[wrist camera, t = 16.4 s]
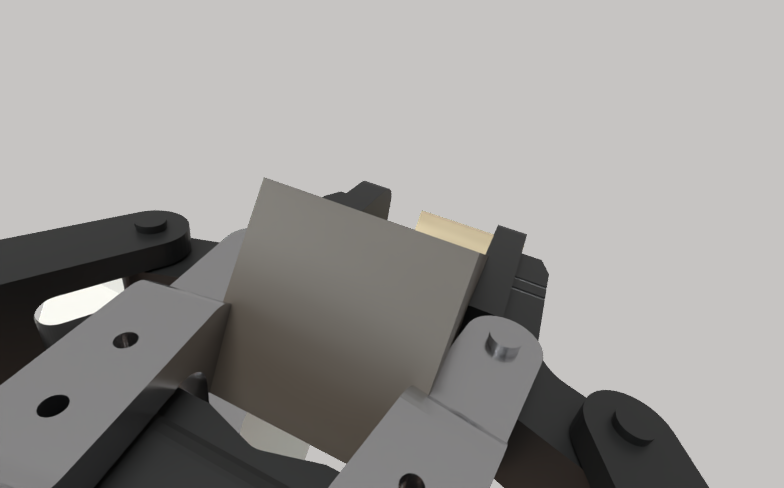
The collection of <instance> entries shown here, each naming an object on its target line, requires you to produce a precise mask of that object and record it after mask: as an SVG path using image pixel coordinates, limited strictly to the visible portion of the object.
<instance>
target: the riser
mask: <svg viewBox="0 0 784 488" xmlns="http://www.w3.org/2000/svg"><path fill="white" fill-rule="evenodd" d="M122 291H124V286H123V281H122V278H120V279H117V280H113V281H110V282H106V283H103V284H99V285H96V286H92V287H89V288H85V289H81V290H78V291H74V292H71V293H67V294H64V295H60V296H57V297H54V298H51V299H49V300H47V301H45V302H44V305H43V309H42V312H41V316H40V319H39V322H40V323H42V324H45V325H58V324H61V323H65V322H68V321H71V320H74V319H77V318H80V317H83V316H87V315H90V314H93V313H95V312H96V311H98V310H99V309H100V308H102V307H103V306H104V305H105V304H107V303H108V302H109V301H111V300H112V299H113V298H115V297H116V296H117V295H118V294H120V293H121V292H122ZM240 435H241V436H242V437H243V438H244V439H245V440H246V441H247V442H248V443H249V444H250V445H251V446H252V447H254V448H256V449H259V450H262V451H266V452H271V453H275V454H280V455H284V456H288V457H293V458H297V459H302V460H305V457H306V454H307V451H308V449H309V446H310V444H308V443H306V442H304V441H302V440H300V439H298V438H296V437H294V436H292V435H290V434H288V433H287V432H285V431H283V430H281V429H279V428H277V427H275V426H273V425H271V424H269V423H267V422H265V421H263V420H261V419H260V418H258V417H256V416H254V415H252V414H250V413H248V412H247V414H246V416H245V418H244V421H243V423H242V427H241V431H240Z"/></svg>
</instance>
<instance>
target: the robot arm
mask: <svg viewBox="0 0 784 488" xmlns="http://www.w3.org/2000/svg"><path fill="white" fill-rule="evenodd" d="M322 198H325V199H327V200H330V201H333V202H336V203H339V204H342V205H345V206H348V207H350V208H353V209H356V210H359V211H362V212H365V213H368V214H370V215H373V216H376V217H379V218H382V219H385V220H387V219H388V213H389V207H390V202H391V190H390V189H387V188H385V187H381V186H378V185H376V184H373V183H369V182H367V181H363V182H361V183H360V184H358V185H357V186H356V187H355V188H353V189H352V190H350V191H349V192H348V193H344V192H338V193H334V194H330V195H326V196H324V197H322ZM246 230H247V228H246V229H241V230H238V231H235V232H233V233H231V234H230V235H228V236H227V237H226V238H225V239H223V240H222V241H221V242H220V243H218V242H212V241H206V240H200V239H193V238H191V237H190V228H189V222H188V221H187V219H186V218H184V217H183V216H181V215H179V214H176V213H173V212H169V211H144V212H138V213H133V214H128V215H123V216H118V217H113V218H108V219H103V220H98V221H93V222H87V223H82V224H78V225H72V226H68V227H63V228H57V229H52V230H47V231H42V232H37V233H32V234H28V235H22V236H17V237H12V238H7V239H2V240H0V488H490V486H491V484H492V481H493V479H495V480H496V481H497V482H498V483H500V484H501V485H502V486H503V487H504V488H709V487H708V485H707V484H706V482H705V481H704V479H703V478H702V476H701V474H700V473H699V471H698V470H697V468H696V467H695V465H694V464H693V462H692V461H691V459H690V457H689V456H688V454H687V452H686V451H685V449H684V448H683V446H682V445H681V443H680V442H679V440H678V438H677V437H676V435H675V434H674V432H673V431H672V430H671V428H670V427H669V425H668V424H667V423H666V422H665V421H664V420H663V419H662V418H661V417H660V416H659V415H658V414H657V413H656V412H655V411H653V410H652V409H651V408H650V407H648V406H647V405H645V404H644V403H642V402H641V401H639V400H637V399H635V398H633V397H631V396H629V395H626V394H624V393H620V392H617V391H611V390H601V391H596V392H594V393H592V394H590V395H589V396H588V397H587V398H586V397H584V396H583V395H581V394H580V393H578V392H577V391H576V390H574V389H573V388H571V387H570V386H568V385H567V384H565V383H564V382H563V381H561V380H560V379H559V378H558V377H556V376H555V375H554V374H553V373H552V371H550V369H549V368H548V367H547V366H546V364H545V363H544V361H543V351H542V348H541V346H540V344H539V342H538V339H539V332H540V326H541V319H542V313H543V307H544V299H545V294H546V287H547V282H548V276H549V274H548V272H547V270H546V268H545V266H544V264H543V262H542V260H539V259H536V258H533V257H530V256H527V255H524V254H522V250H523V246H524V243H525V239H526V236H527V234H524V233H521V232H518V231H515V230H512V229H509V228H506V227H503V226H499V225H498V227H497V229H496V231H495V234H494V236H493V238H492V240H491V243H490V245H489V247H488V250H487V252H486V254H485V255H488V256H489V257H488V259H487V261H486V264H485V266H484V269H483V271H482V273H481V276H480V278H479V280H478V283H477V285H476V288H475V290H474V292H473V295H472V297H471V300H470V302H469V304H468V307H467V310H466V313H465V316H464V319H463V322H462V325H461V328H460V331H459V334H458V337H457V339H456V340H455V342H454V343H453V344H452V346H451V347H450V349H449V351H448V353H447V356H446V358H445V361H444V363H443V365H442V368H441V370H440V373H439V375H438V377H437V380H436V382H435V384H434V387H433V389H432V392H431V394H430V395H428V394H427V393H425V392H424V391H422V390H420V389H419V388H417V387H416V386H414V385H411V386H410V387H408V388H407V389H406V390H405V391H404V392H403V393H402V395H401V396H400V397H399V398H398V400H397V401H396V402H395V403H394V405H393V406H392V407H391V408H390V410H389V411H388V412H387V413H386V415H385V416H384V417H383V419H382V420H381V421H380V422H379V424H378V425H377V426H376V427H375V429H374V430H373V431H372V433H371V434H370V435H369V436H368V438H367V439H366V440H365V441H364V443H363V444H362V445H361V446H360V448H359V449H358V450H357V452H356V453H355V454H354V455H353V457H352V458H351V459H350V460H349V462H348V463H347V464H346V466H345V467H344V468H343V469H342V471H341V472H338V471H336V470H335V469H333V468H331V467H329V466H327V465H323V464H319V463H315V462H310V461H306V460H302V459H297V458H293V457H288V456H284V455H280V454H275V453H271V452H266V451H262V450H259V449H256V448H254V447H252V446H251V445H250V444H249V443H248V442H247V441H246V440H245V439H244V438H243V437H242V436H241V435H240V431H241V427H242V423H243V421H244V418H245V416H246V414H247V412H246V411H244V410H242V409H240V408H238V407H236V406H235V405H233V404H231V403H229V402H227V401H225V400H223V399H221V398H219V397H217V396H215V395H213V394H211V393H210V390H211V386H212V382H213V378H214V374H215V370H216V366H217V362H218V358H219V354H220V350H221V346H222V342H223V338H224V334H225V330H226V326H227V322H228V318H229V314H230V310H231V306H232V304H231V303H227V302H224V301H223V300H224V297H225V294H226V291H227V288H228V285H229V282H230V279H231V276H232V273H233V270H234V267H235V264H236V261H237V258H238V255H239V251H240V248H241V245H242V242H243V239H244V236H245V233H246ZM120 278H122V281H123V286H124V291H122V292H121V293H120V294H118V295H117V296H116V297H115V298H113V299H112V300H111V301H109V302H108V303H107V304H105V305H104V306H103V307H102V308H100V309H99V310H98V311H96V312H95V313H93V314H90V315H87V316H83V317H80V318H77V319H74V320H71V321H68V322H65V323H61V324H58V325H45V324H42V323H40V322H38V321H37V320H36V319H35V317H34V314H35V311H36V309H37V308H38V307H39V306H40V305H41V304H42V303H43V302H45V301H47V300H49V299H51V298H54V297H57V296H60V295H64V294H67V293H71V292H74V291H78V290H81V289H85V288H89V287H92V286H96V285H99V284H103V283H106V282H110V281H113V280H117V279H120Z"/></svg>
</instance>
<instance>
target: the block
mask: <svg viewBox="0 0 784 488" xmlns="http://www.w3.org/2000/svg"><path fill="white" fill-rule="evenodd" d="M493 236H494V235H493V234H491V233H487V232H484V231H482V230H479V229H476V228H473V227H469V226H467V225H464V224H461V223H458V222H455V221H452V220H449V219H446V218H443V217H440V216H437V215H434V214H431V213H428V212H425V211H422V212H421V214H420V217H419V220H418V223H417V226H416V229H415V230H413V229H411V228H408V227H405V226H402V225H399V224H396V223H393V222H390V221H388V220H385V219H382V218H379V217H376V216H373V215H370V214H368V213H365V212H362V211H359V210H356V209H353V208H350V207H348V206H345V205H342V204H339V203H336V202H333V201H330V200H327V199H325V198H322V197H319V196H316V195H313V194H310V193H307V192H305V191H302V190H299V189H296V188H293V187H290V186H287V185H284V184H282V183H279V182H276V181H273V180H270V179H267V178H264V179H263V182H262V185H261V188H260V191H259V194H258V197H257V200H256V203H255V206H254V209H253V212H252V215H251V218H250V221H249V224H248V228H247V230H246V233H245V236H244V239H243V242H242V245H241V248H240V251H239V255H238V258H237V261H236V264H235V267H234V270H233V273H232V276H231V279H230V282H229V285H228V288H227V291H226V294H225V297H224V300H223V301H224V302H227V303H231V304H232V306H231V310H230V314H229V318H228V322H227V326H226V330H225V334H224V338H223V342H222V346H221V350H220V354H219V358H218V362H217V366H216V370H215V374H214V378H213V382H212V386H211V390H210V393H211V394H213V395H215V396H217V397H219V398H221V399H223V400H225V401H227V402H229V403H231V404H233V405H235V406H236V407H238V408H240V409H242V410H244V411H246V412H248V413H250V414H252V415H254V416H256V417H258V418H260V419H261V420H263V421H265V422H267V423H269V424H271V425H273V426H275V427H277V428H279V429H281V430H283V431H285V432H287V433H288V434H290V435H292V436H294V437H296V438H298V439H300V440H302V441H304V442H306V443H308V444H310V445H312V446H314V447H315V448H317V449H319V450H321V451H323V452H325V453H327V454H329V455H331V456H333V457H335V458H337V459H339V460H340V461H342V462H344V463H346V464H347V463H348V462H349V460H350V459H351V458H352V457H353V455H354V454H355V453H356V452H357V450H358V449H359V448H360V446H361V445H362V444H363V443H364V441H365V440H366V439H367V438H368V436H369V435H370V434H371V433H372V431H373V430H374V429H375V427H376V426H377V425H378V424H379V422H380V421H381V420H382V419H383V417H384V416H385V415H386V413H387V412H388V411H389V410H390V408H391V407H392V406H393V405H394V403H395V402H396V401H397V400H398V398H399V397H400V396H401V395H402V393H403V392H404V391H405V390H406V389H407V388H408V387H410V386H411V385H414V386H416V387H417V388H419V389H420V390H422V391H424V392H425V393H427V394H428V395H430V394H431V392H432V389H433V387H434V384H435V382H436V380H437V377H438V375H439V373H440V370H441V368H442V365H443V363H444V361H445V358H446V356H447V353H448V351H449V349H450V347H451V346H452V344H453V343H454V342H455V340H456V339H457V337H458V334H459V331H460V328H461V325H462V322H463V319H464V316H465V313H466V310H467V307H468V304H469V302H470V300H471V297H472V295H473V292H474V290H475V288H476V285H477V283H478V280H479V278H480V276H481V273H482V271H483V269H484V266H485V264H486V261H487V259H488V257H489V256H488V255H485V254H486V252H487V250H488V247H489V245H490V243H491V240H492V238H493ZM523 247H524V246H523Z"/></svg>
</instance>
